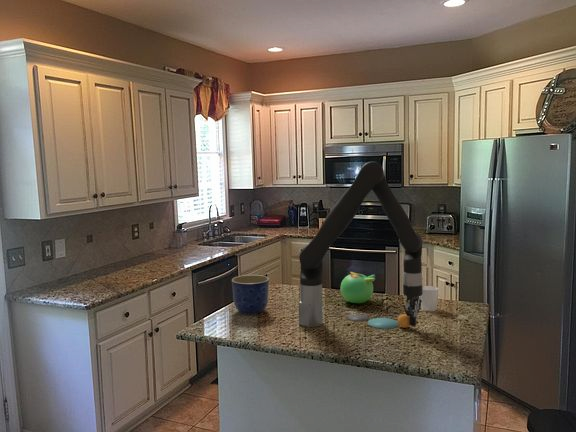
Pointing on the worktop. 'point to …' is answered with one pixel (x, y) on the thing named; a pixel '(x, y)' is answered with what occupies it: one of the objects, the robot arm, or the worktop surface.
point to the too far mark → (358, 318)
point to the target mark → (383, 323)
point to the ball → (404, 321)
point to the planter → (250, 293)
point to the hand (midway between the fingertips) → (413, 325)
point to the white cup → (429, 298)
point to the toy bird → (357, 287)
